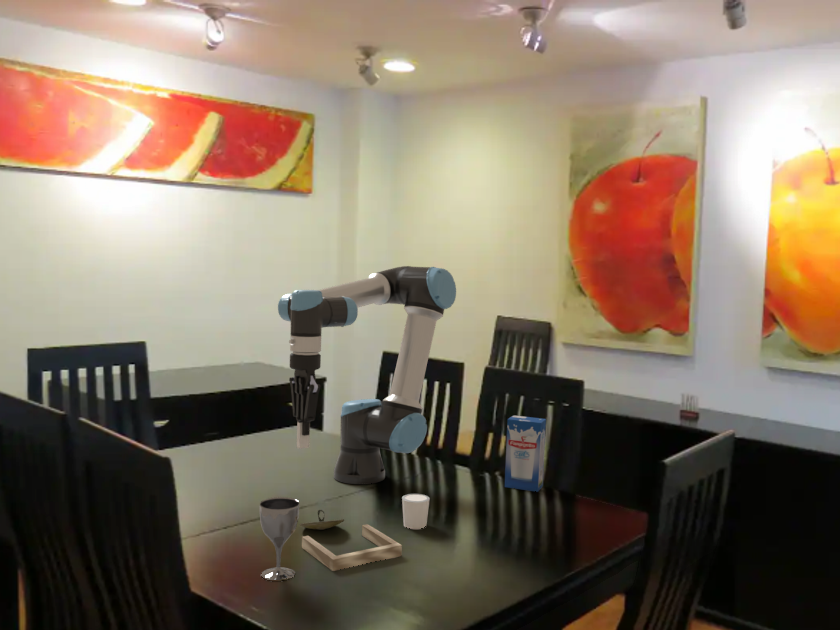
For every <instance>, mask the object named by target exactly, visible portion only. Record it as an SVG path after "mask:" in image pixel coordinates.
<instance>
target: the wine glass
mask: <svg viewBox="0 0 840 630" xmlns="http://www.w3.org/2000/svg"><path fill="white" fill-rule="evenodd" d="M299 517H300V502H299V500H298V499H296V498H292V497H288V496H287V497H284V496H278V497H270V498H269V497H268V498H266V499H263V500H262V501H260V502H259V519H260V525H261V529H262V531H263V533H264V535H265V536H266V537H267V538H268V539H269V540H270V542H271V543H272V544H273V546H274V548H275V554H276V555H275V556H276V565H275V566H276V567H271V568H267V569H265V570H263V571H262V572H261V573H262V574H261V573H260V577H261V576H262V577H263V578H265V579H267V580H281V579H286V578H287V579H288V578H292V577H293V578H295V577H294V575H295V573H296V571H295V570H294V569H293V568H288V567H281V559H282V557H281V556H282V550H283V547H284V545H285V543H286V542H287V541H288V539H289V538H290V537H291V536H292V535H293V534H294V532H295V531H296V529H297V525H298V523H299ZM295 576H296V575H295ZM263 578H262V579H263ZM293 578H292V579H293ZM267 580H266V581H267Z"/></svg>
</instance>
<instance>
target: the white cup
mask: <svg viewBox="0 0 840 630" xmlns="http://www.w3.org/2000/svg"><path fill="white" fill-rule="evenodd" d="M401 499H402V500H401V502H402V504H401V506H402V517H403V518H402V521H403V527H404V528H406V527H407V529H409V528H410V530H422V529H421V528H423V529H425V528H426V527H427V524H428V523H427V522H428V515H429V507H430V499H431V498H430V497H429V496H428V495H427V494H426V495H425V494H422V493H408V494H405V495H403V496H402V497H401ZM425 526H426V527H425ZM424 527H425V528H424Z"/></svg>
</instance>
